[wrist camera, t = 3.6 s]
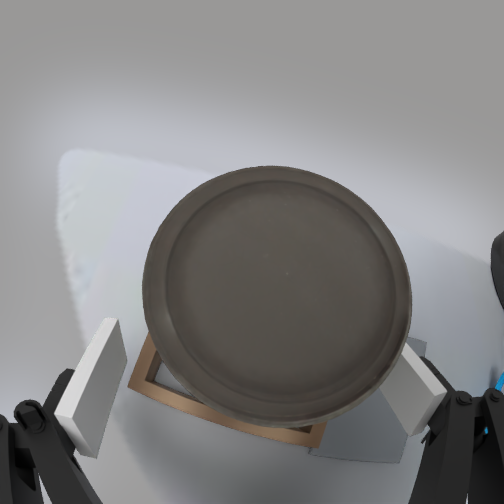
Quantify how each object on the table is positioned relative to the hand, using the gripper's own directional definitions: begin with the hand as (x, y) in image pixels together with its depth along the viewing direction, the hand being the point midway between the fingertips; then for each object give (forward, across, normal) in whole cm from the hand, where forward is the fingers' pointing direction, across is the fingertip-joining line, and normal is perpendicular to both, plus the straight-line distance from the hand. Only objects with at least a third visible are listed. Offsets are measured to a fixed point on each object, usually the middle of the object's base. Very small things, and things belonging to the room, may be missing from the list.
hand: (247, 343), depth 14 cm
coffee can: (+7, +1, -5) cm, 9 cm away
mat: (+3, +12, -9) cm, 15 cm away
